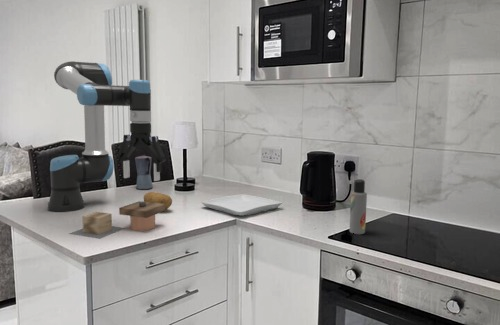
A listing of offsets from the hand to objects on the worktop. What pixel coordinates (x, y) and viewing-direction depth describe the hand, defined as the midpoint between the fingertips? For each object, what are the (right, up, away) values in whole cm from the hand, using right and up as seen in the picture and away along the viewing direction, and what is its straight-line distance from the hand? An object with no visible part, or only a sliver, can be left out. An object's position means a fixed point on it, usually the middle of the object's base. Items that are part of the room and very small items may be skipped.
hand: (141, 179), depth 159 cm
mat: (-15, -19, -4) cm, 25 cm away
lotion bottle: (+81, -20, 0) cm, 83 cm away
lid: (0, -13, +1) cm, 13 cm away
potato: (0, -15, +29) cm, 33 cm away
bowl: (0, -19, +2) cm, 19 cm away
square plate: (+37, -15, +35) cm, 53 cm away
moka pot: (-18, -8, +78) cm, 80 cm away
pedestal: (-15, -19, -4) cm, 24 cm away
